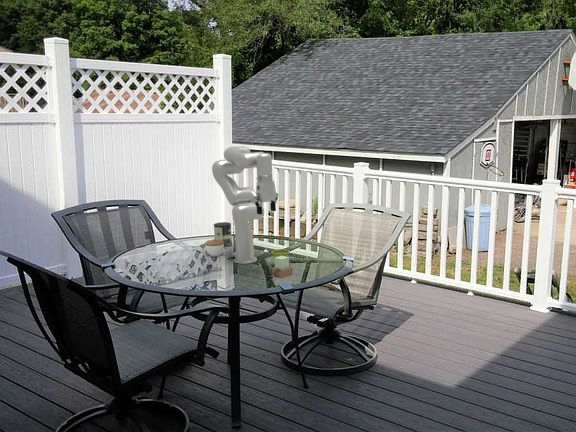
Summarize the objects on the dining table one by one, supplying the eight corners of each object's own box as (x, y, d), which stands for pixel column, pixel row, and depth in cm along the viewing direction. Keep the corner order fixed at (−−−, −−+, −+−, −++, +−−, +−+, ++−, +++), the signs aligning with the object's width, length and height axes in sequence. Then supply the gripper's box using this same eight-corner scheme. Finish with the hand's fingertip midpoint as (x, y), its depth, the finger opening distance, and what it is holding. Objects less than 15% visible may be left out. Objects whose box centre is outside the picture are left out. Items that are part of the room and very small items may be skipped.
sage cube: (274, 267, 294) (274, 257, 293) (281, 265, 297) (281, 255, 296) (282, 269, 290) (281, 259, 290) (289, 267, 294) (288, 257, 293)
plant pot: (284, 271, 307) (283, 254, 305) (268, 268, 312) (268, 252, 310) (293, 266, 314) (293, 250, 313) (278, 264, 319) (277, 248, 318)
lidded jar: (221, 251, 351) (220, 236, 349) (227, 255, 341) (226, 239, 339) (203, 254, 346) (202, 238, 344) (209, 258, 337) (208, 242, 335)
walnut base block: (272, 275, 295) (271, 267, 294) (282, 272, 300) (281, 264, 299) (282, 278, 290) (282, 270, 289) (292, 274, 295) (292, 266, 294)
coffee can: (233, 244, 368) (231, 221, 365) (231, 248, 357) (230, 225, 355) (216, 245, 368) (214, 222, 365) (214, 249, 358) (212, 225, 355)
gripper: (257, 181, 290) (259, 216, 293) (282, 176, 303) (283, 210, 306) (247, 180, 295) (248, 214, 298) (271, 176, 308) (273, 209, 311)
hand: (266, 212), depth 302 cm, fingers open, 9 cm apart
